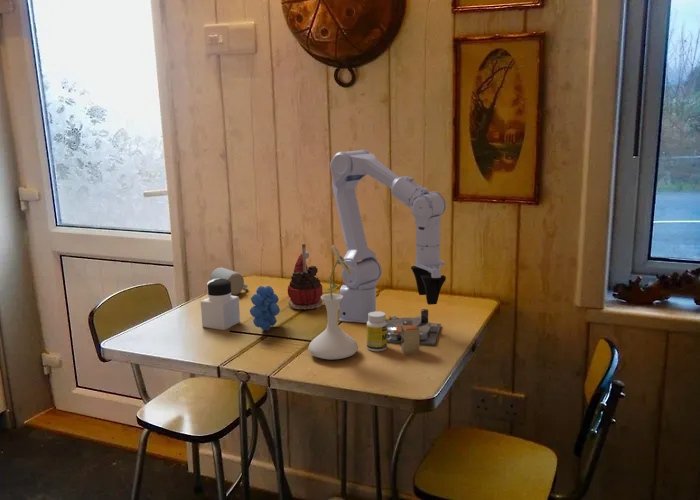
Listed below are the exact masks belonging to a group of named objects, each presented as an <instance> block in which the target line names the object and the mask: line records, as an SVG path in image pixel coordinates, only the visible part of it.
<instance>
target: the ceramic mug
mask: <svg viewBox="0 0 700 500" xmlns="http://www.w3.org/2000/svg"><path fill="white" fill-rule="evenodd" d="M209 277H210V278H209V281H211V280H213V279H227V280H229V281H230V282H231V296H237V295H239V294H241V292H242V290H245V291H246V290H248V284H245V280H244V276H242V274H241V273H239V272H237V271H234V270H231V269H229V268H226V267H217V268H215V269H213V271H212V273H211V274H210V276H209Z"/></svg>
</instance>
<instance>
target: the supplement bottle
mask: <svg viewBox="0 0 700 500" xmlns="http://www.w3.org/2000/svg"><path fill="white" fill-rule="evenodd" d="M386 318H387V317H386V313H385V312H383V311H379V310H378V311H377V310H376V311H375V312H370V313H369V314H368V320H369V321H368V322H367V323H366V348H367V350H369V351H371V352H383V351H385V350H386V349H387V348H388V342H387V322H386V321H385V320H387V319H386Z"/></svg>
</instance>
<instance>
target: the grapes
mask: <svg viewBox="0 0 700 500" xmlns="http://www.w3.org/2000/svg"><path fill="white" fill-rule="evenodd" d="M255 292H256V293H255V294H253V295H252V296H251V298H250V301H251V303H252V304H253V306H252V307H251V308H250V309H249V312H250V316H252V317H253V324H254V326H255V327H256V328H261V330H262V331H265V330H266V331H268V330H270V328H271V327H273V326H275V325H276V323H277V322H278V320H277V318H276V316H278V315H279V314H280V312H281V308H280V306H279V305H278V302H279V296H278V295H277V294H276V293H275V291H274V288H272V286H269V285H267V286H263V285H261V286H259V287H258V288H256V291H255Z"/></svg>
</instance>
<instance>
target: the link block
mask: <svg viewBox="0 0 700 500" xmlns="http://www.w3.org/2000/svg"><path fill="white" fill-rule="evenodd" d="M419 342H420V330H419V328H418V326H417V325H401V343H400V344H401V348H400V350H401V352H402V354H403V357H404V356H405V357H407V356H408V357H409V356H419V355H420V345H419Z"/></svg>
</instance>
